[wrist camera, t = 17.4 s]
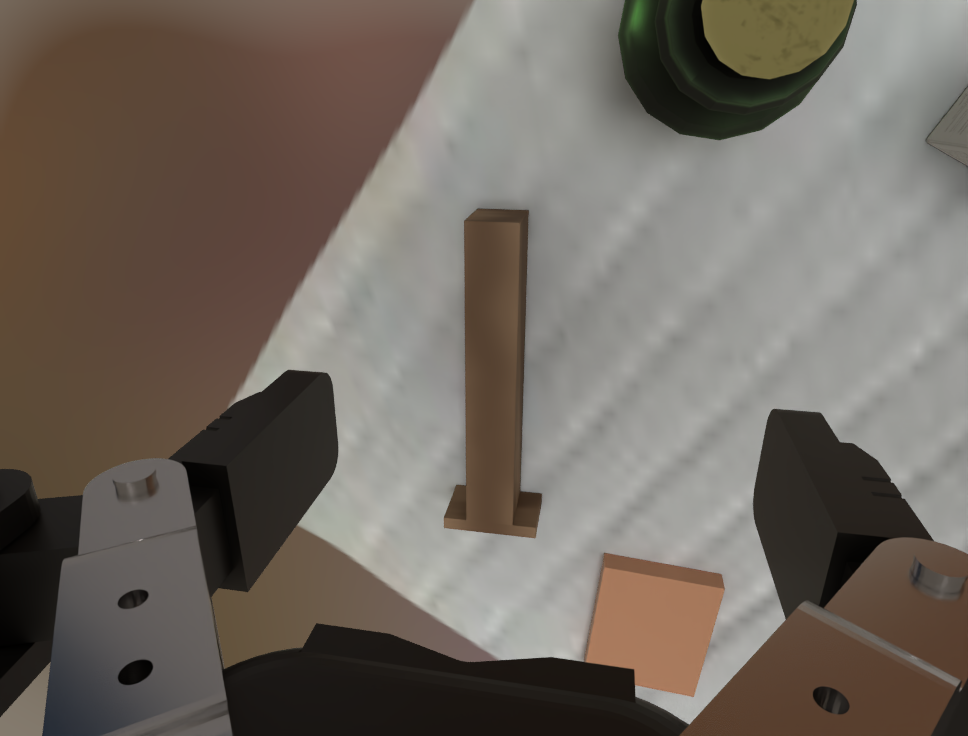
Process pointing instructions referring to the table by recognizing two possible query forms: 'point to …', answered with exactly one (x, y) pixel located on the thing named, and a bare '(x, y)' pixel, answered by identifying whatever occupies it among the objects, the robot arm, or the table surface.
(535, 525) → the wooden post on base
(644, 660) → the tile
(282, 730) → the robot arm
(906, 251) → the table surface
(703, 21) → the potion bottle
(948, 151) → the skincare box
